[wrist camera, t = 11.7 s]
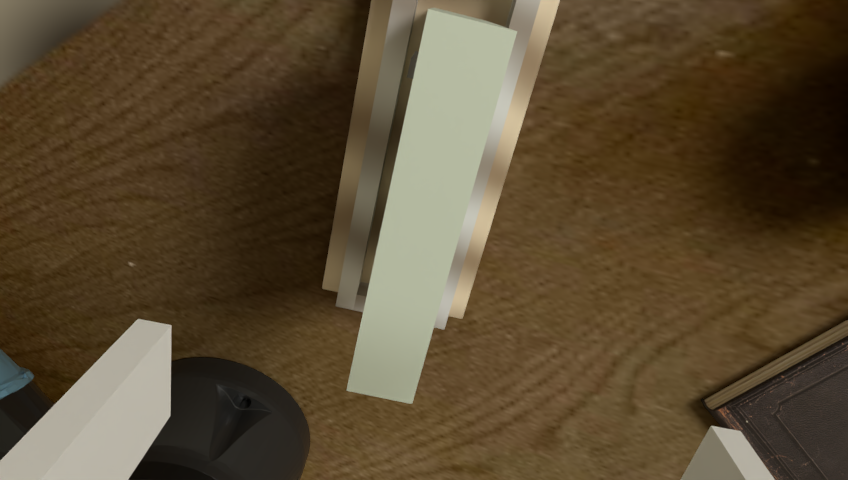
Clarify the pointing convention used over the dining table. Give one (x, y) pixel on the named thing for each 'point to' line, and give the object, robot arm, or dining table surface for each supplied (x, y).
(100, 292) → the dining table surface
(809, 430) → the hardcover book
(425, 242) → the door panel
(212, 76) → the dining table surface
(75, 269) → the dining table surface
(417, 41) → the door track
